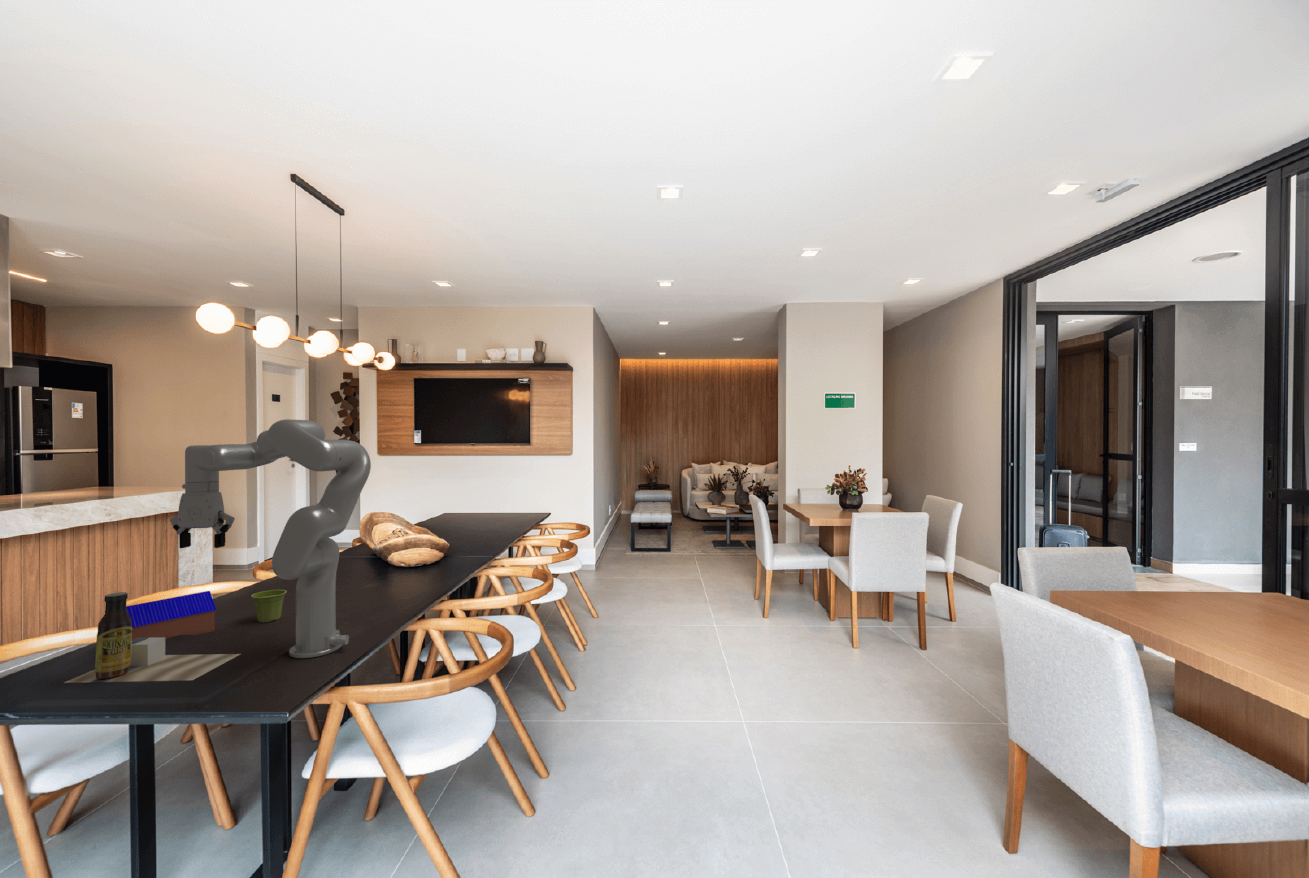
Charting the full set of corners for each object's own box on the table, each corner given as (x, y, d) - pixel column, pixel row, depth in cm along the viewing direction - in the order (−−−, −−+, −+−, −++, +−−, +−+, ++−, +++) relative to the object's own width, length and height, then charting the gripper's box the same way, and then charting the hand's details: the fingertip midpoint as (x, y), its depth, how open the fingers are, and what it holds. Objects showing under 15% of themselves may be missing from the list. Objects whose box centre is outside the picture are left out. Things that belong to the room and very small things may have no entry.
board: (241, 658, 145) (241, 653, 145) (192, 685, 129) (192, 680, 129) (127, 660, 144) (127, 655, 144) (63, 687, 128) (63, 682, 128)
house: (117, 643, 157) (117, 603, 158) (203, 623, 174) (203, 587, 174) (128, 652, 151) (127, 610, 151) (216, 631, 167) (216, 593, 167)
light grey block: (165, 658, 143) (165, 636, 143) (147, 665, 138) (147, 643, 138) (138, 658, 143) (138, 636, 143) (120, 666, 138) (120, 643, 138)
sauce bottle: (100, 682, 128) (99, 599, 128) (90, 677, 131) (90, 596, 131) (136, 672, 134) (136, 592, 134) (126, 667, 137) (126, 589, 137)
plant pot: (258, 616, 180) (258, 590, 180) (290, 613, 183) (290, 588, 183) (246, 625, 171) (246, 598, 171) (280, 622, 174) (280, 595, 174)
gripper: (159, 489, 151) (160, 550, 151) (223, 488, 151) (223, 549, 151) (182, 487, 158) (182, 545, 158) (242, 486, 159) (242, 544, 159)
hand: (202, 547), depth 155 cm, fingers open, 9 cm apart
